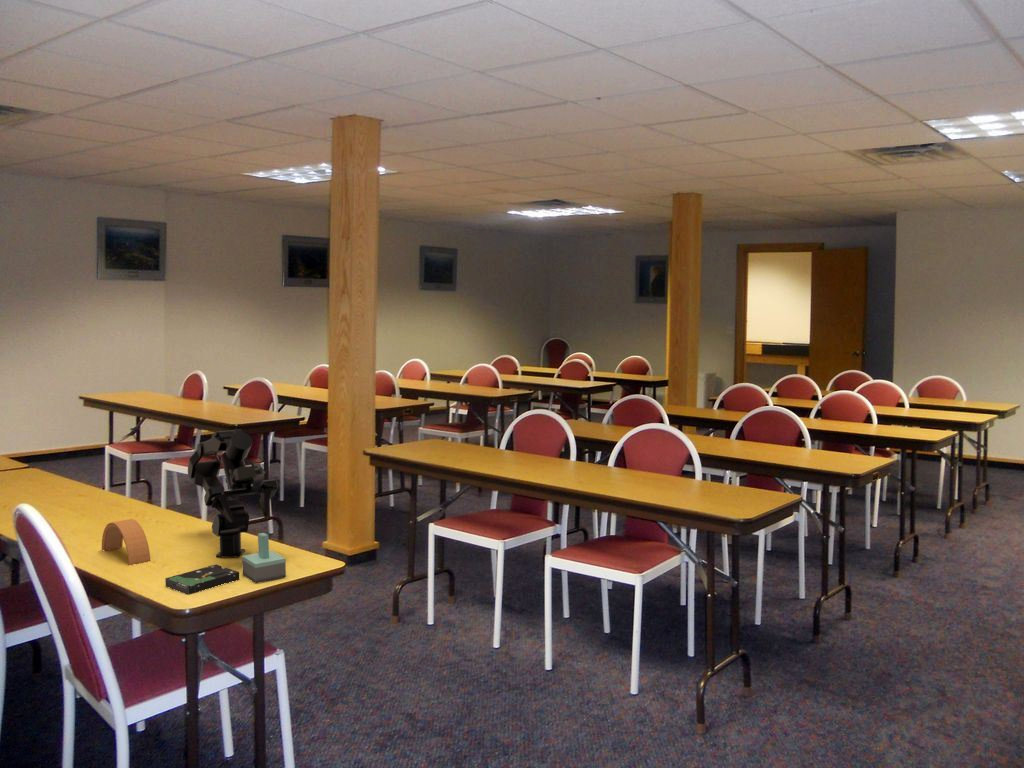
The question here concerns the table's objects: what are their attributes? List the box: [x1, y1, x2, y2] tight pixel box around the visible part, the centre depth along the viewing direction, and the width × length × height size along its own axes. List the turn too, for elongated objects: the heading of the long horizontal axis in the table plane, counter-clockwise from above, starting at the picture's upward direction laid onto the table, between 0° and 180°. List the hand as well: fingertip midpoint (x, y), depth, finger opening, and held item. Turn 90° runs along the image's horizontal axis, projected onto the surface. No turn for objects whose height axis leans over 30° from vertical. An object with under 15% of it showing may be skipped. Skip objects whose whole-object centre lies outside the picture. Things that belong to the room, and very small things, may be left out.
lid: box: [241, 532, 286, 568], centre depth 225 cm, size 9×8×8 cm
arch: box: [101, 518, 151, 566], centre depth 243 cm, size 6×20×10 cm, turn 44°
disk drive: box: [164, 564, 240, 596], centre depth 220 cm, size 10×3×15 cm
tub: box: [241, 559, 287, 584], centre depth 226 cm, size 9×8×4 cm
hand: (249, 519), depth 231 cm, fingers open, 9 cm apart
